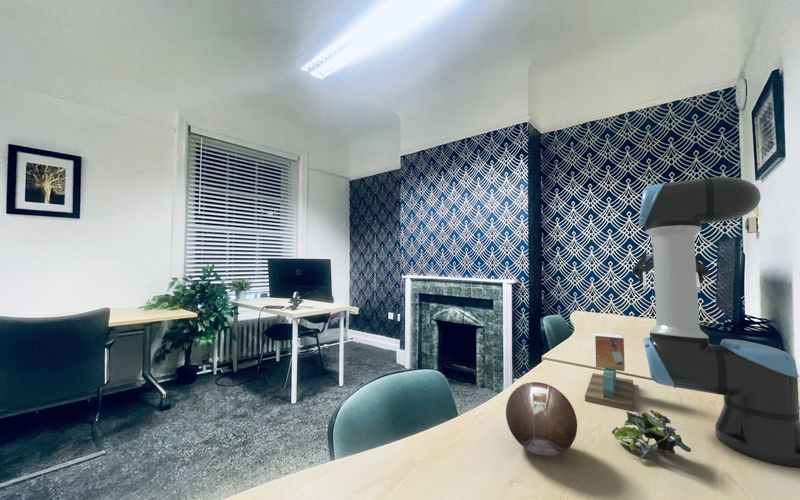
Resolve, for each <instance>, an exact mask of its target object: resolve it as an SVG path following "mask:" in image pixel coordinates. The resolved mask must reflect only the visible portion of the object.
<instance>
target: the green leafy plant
mask: <svg viewBox="0 0 800 500" xmlns="http://www.w3.org/2000/svg"><path fill="white" fill-rule="evenodd" d="M649 412H650V413H651V414H652V415H651V414H650V413H648V412H646V411H644V412H643V411H642V412H639V411H638V412H635V413H631V412H630V410H626V409H625V413H626V417H627V419H626V421H625V422H624V424H623V425H624V426H622V427H620V428H619V427H617V426H615V428H613V430H612V431H611V433H612V434H613V435H614V437H615V438H616V440H618V441H621V440H622V439H625V440H630V444H629V448H630V450H631V452H634V450H635V445H636V444H637V443H639V444H640V449H641V456H640V458H642V459H643V458H644V457H645V455H647V453H648V452H649V451H653V448H654V447H656V446H657V448H658V449H659V450H660V449H661V450H662V451H661V450H660V451H661V452H663V451H666V452H669V453H671V454H673V455H675V454H676V451H675V447H679V448H680V449H682V450H683V451H686V452H688V453H691V452H692V448H691V447H689V446H688V445H686V444H685V443H684V442H683V441H682V437H681V434H677V433H676V432H675V431H677V429H676V428H673V427H672V426H667V424H672V422H671V419H669V418H668V417H667V416H666V415H664V414H662V413H660V412H659V411H654V410H652V409H649ZM630 426H633V427H630ZM636 427H637V428H636ZM643 436H644V437H645V438H647V440H645V439H644V437H643ZM650 439H651V440H654V441H655V443H653V444H649V443H650ZM640 440H641V441H640ZM640 458H639V459H640Z"/></svg>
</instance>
